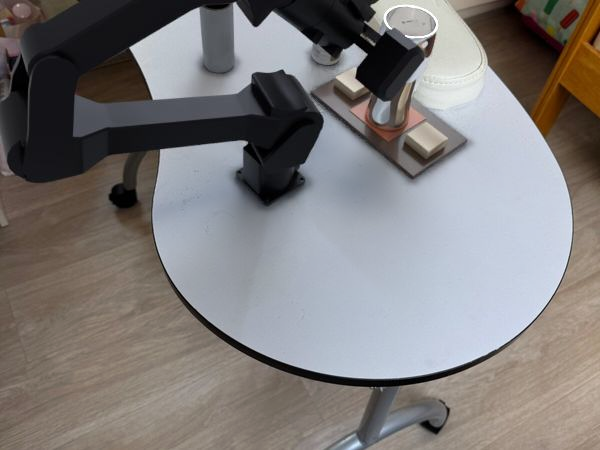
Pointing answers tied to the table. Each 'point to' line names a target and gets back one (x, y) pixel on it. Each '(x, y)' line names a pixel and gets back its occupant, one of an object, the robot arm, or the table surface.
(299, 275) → the table surface
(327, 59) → the pill bottle
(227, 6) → the light grey cylinder
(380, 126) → the silver metal cup
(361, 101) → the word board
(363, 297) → the table surface
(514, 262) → the table surface
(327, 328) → the table surface
